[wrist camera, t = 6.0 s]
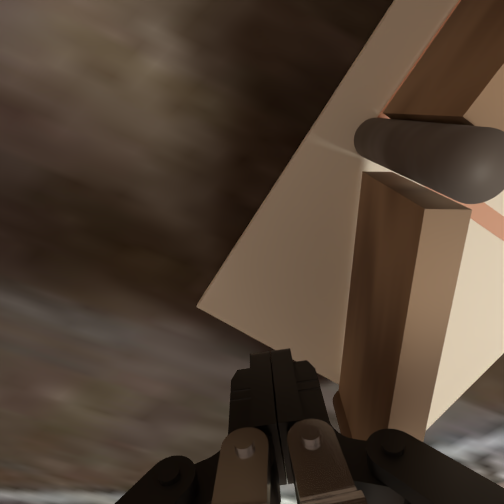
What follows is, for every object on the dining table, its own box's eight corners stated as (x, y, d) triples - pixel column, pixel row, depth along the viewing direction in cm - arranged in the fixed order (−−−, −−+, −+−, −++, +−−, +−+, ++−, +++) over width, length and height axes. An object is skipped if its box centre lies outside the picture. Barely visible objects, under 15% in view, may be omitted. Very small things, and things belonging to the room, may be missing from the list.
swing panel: (356, 171, 13) (430, 219, 8) (398, 171, 13) (503, 219, 8) (331, 413, 17) (370, 568, 11) (364, 413, 17) (419, 569, 11)
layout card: (599, -317, 10) (614, -336, 10) (872, -19, 12) (895, -24, 12) (197, 302, 16) (196, 307, 16) (426, 427, 18) (430, 435, 18)
